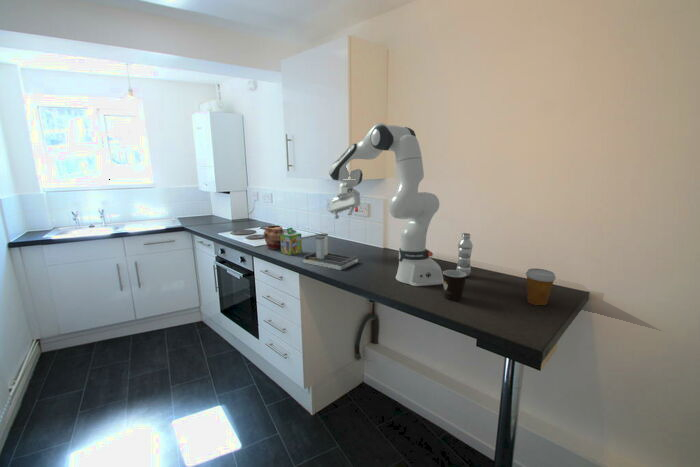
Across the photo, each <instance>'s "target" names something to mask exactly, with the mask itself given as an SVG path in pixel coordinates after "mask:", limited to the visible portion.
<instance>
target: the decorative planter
mask: <svg viewBox="0 0 700 467" xmlns="http://www.w3.org/2000/svg"><path fill="white" fill-rule="evenodd" d="M283 230H284V229H283V227H282V226H281V225H276V224H275V225H267V226H265V230H264V232H263V239H264V240H265V243H266V246H267V248H268V249H270V250H281V240H280V234H284V233H285V231H283Z"/></svg>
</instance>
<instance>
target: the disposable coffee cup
mask: <svg viewBox="0 0 700 467" xmlns="http://www.w3.org/2000/svg"><path fill="white" fill-rule="evenodd" d="M525 276H526V289H527V290H526V291H527V292H526V294H527V296H526V297H527V303H529V304H531V305H534V306H538V305H545V306H546V304H547V305H548V302H549V298H550V294H551V291H552V288H553V285H554V281H555V280H556V278H557V277H556V274H555V273H554V271H552V270H548V269H544V268H529V269H527V271H526V272H525Z"/></svg>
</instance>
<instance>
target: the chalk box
mask: <svg viewBox="0 0 700 467" xmlns="http://www.w3.org/2000/svg"><path fill="white" fill-rule="evenodd" d="M293 230H294V229H293V227H288V228H286V232H284V234H280V240H281V249H280V254H283V255H284V254H285V255H289V256H294V255H298V254H300V253H303V249H302V248H303V246H302V245H303V243H302V242H303V241H302V240H303V239H302V238H303V237H302V233H299V232H294V231H293Z"/></svg>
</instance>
